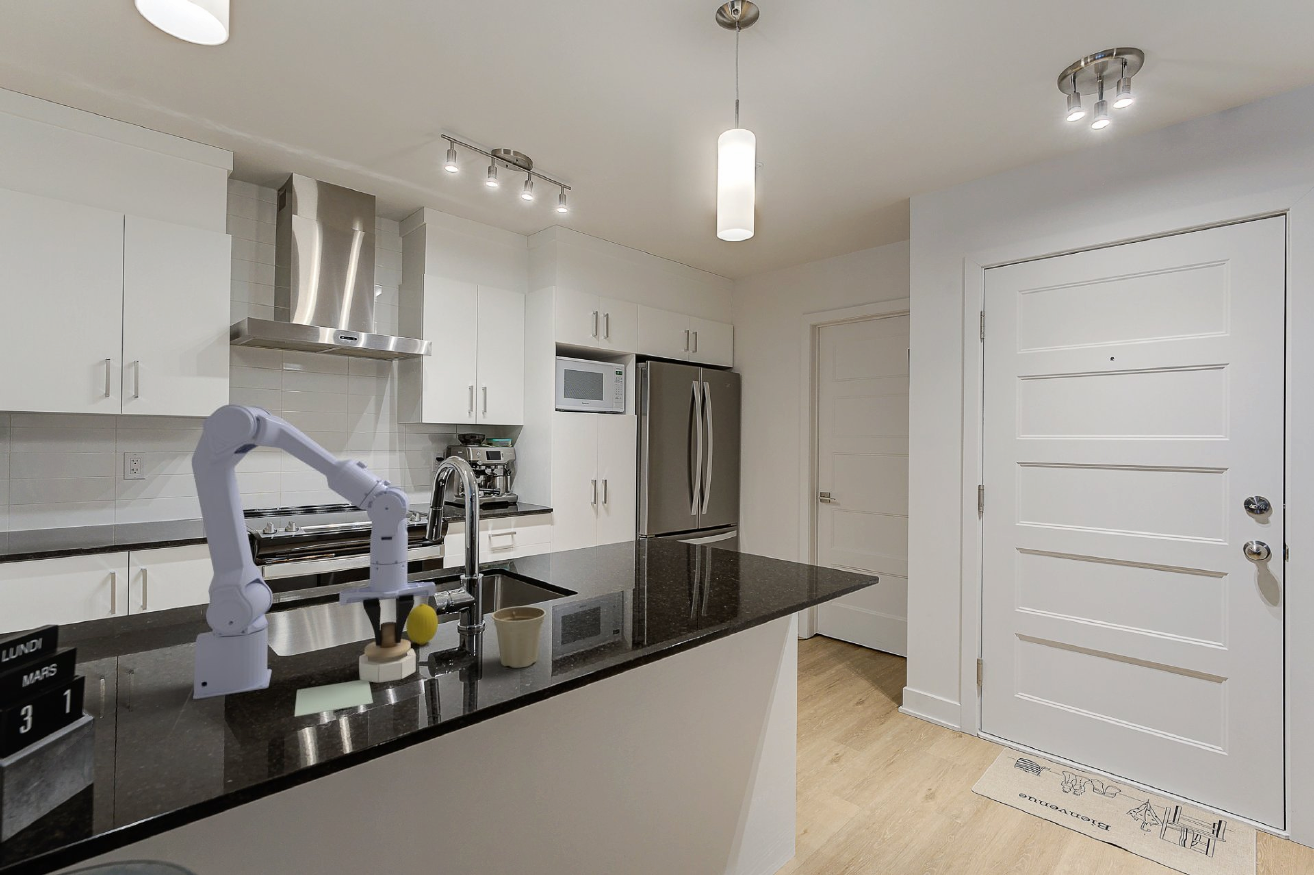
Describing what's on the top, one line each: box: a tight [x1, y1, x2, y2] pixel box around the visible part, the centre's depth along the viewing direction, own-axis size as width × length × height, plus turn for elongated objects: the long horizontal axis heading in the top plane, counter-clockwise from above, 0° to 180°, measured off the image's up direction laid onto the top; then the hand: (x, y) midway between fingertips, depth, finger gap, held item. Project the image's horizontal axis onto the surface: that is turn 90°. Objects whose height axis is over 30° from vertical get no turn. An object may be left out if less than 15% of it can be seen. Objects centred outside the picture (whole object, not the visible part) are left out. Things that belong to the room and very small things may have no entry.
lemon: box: [406, 602, 439, 646], centre depth 118 cm, size 6×6×8 cm
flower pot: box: [491, 605, 547, 669], centre depth 110 cm, size 9×9×9 cm
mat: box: [294, 679, 374, 718], centre depth 94 cm, size 10×10×1 cm
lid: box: [364, 621, 412, 658], centre depth 104 cm, size 7×7×4 cm
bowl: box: [358, 648, 417, 683], centre depth 104 cm, size 8×8×3 cm
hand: (387, 642), depth 104 cm, fingers closed on lid, 2 cm apart
